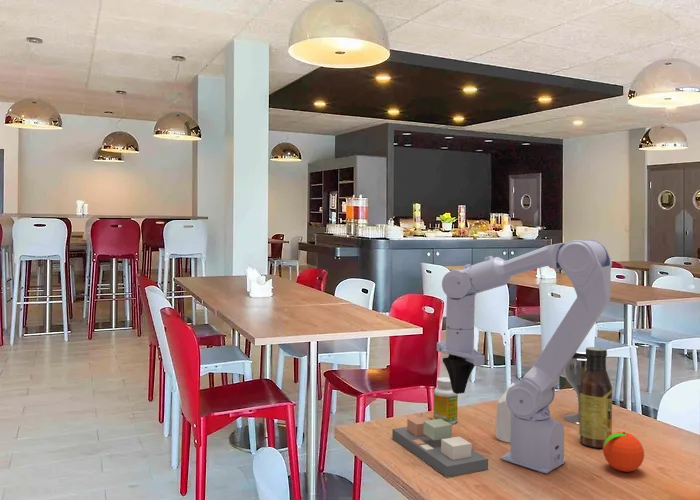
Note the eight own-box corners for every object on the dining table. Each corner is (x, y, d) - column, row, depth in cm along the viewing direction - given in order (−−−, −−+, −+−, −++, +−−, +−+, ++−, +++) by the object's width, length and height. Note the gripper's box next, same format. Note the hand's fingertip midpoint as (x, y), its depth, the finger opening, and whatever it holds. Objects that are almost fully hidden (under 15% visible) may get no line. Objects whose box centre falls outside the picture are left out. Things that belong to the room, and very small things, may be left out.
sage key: (451, 437, 115) (451, 424, 115) (434, 440, 114) (434, 427, 114) (440, 430, 119) (440, 418, 119) (423, 433, 118) (423, 421, 117)
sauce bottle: (614, 450, 119) (617, 352, 118) (581, 448, 120) (584, 351, 119) (607, 439, 125) (609, 346, 124) (576, 436, 126) (578, 344, 125)
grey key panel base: (488, 469, 109) (488, 457, 109) (446, 477, 105) (447, 465, 105) (429, 432, 128) (429, 422, 128) (392, 438, 124) (392, 428, 124)
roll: (498, 377, 129) (524, 379, 127) (497, 431, 129) (523, 434, 127) (495, 384, 123) (523, 387, 121) (494, 441, 123) (522, 444, 122)
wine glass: (554, 416, 140) (555, 353, 139) (579, 412, 143) (580, 351, 143) (580, 426, 133) (582, 360, 132) (606, 422, 136) (607, 357, 135)
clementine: (615, 480, 104) (616, 441, 104) (589, 465, 111) (590, 428, 111) (652, 475, 107) (653, 437, 106) (624, 461, 113) (625, 424, 113)
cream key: (471, 456, 110) (471, 443, 109) (452, 460, 108) (453, 446, 108) (458, 449, 113) (459, 436, 113) (441, 452, 112) (441, 439, 112)
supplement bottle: (450, 426, 132) (450, 383, 132) (429, 421, 136) (429, 379, 135) (461, 420, 137) (461, 378, 136) (440, 415, 140) (441, 375, 139)
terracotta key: (433, 434, 121) (433, 422, 121) (416, 436, 120) (417, 424, 120) (423, 427, 125) (423, 416, 125) (407, 430, 124) (407, 418, 123)
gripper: (425, 322, 127) (424, 385, 127) (463, 335, 113) (462, 404, 114) (452, 321, 130) (451, 382, 130) (493, 332, 116) (492, 400, 117)
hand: (458, 392), depth 122 cm, fingers closed
